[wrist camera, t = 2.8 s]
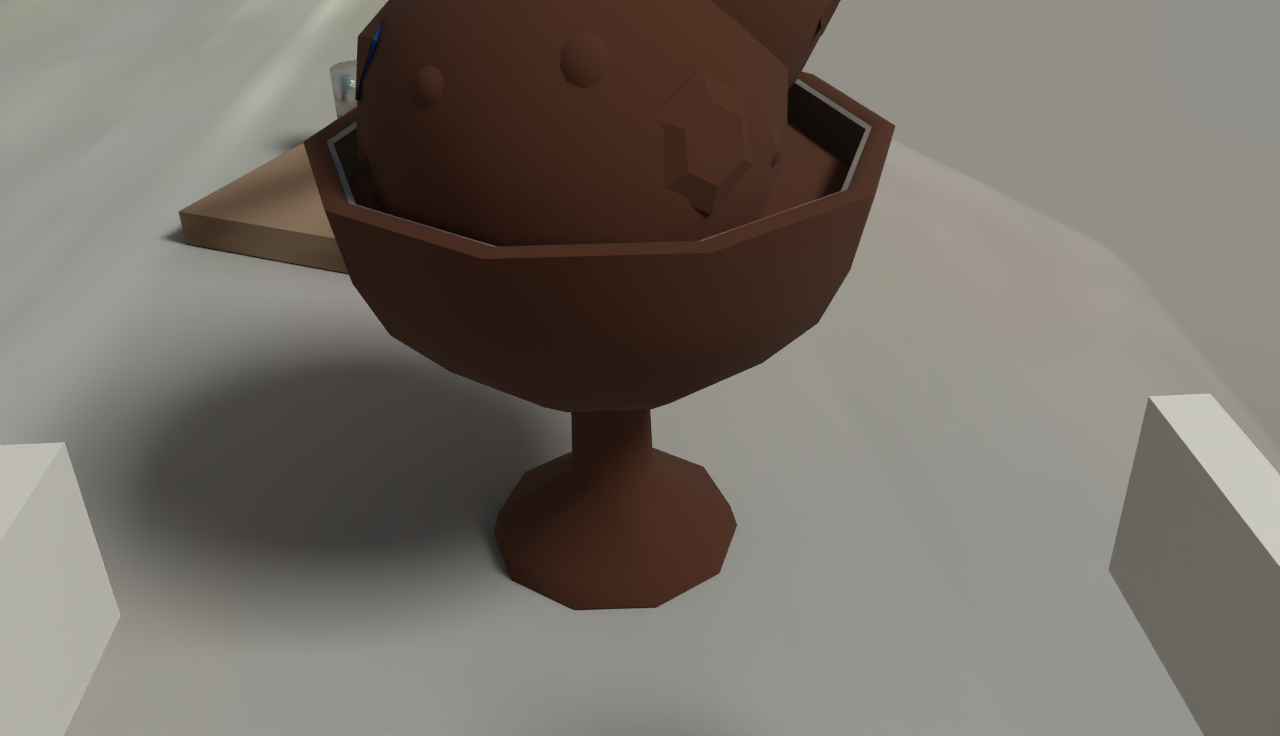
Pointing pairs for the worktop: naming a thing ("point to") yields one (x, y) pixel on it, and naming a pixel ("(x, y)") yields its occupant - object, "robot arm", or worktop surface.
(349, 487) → the worktop surface
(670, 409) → the worktop surface
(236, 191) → the stub board
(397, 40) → the ice cream bowl
